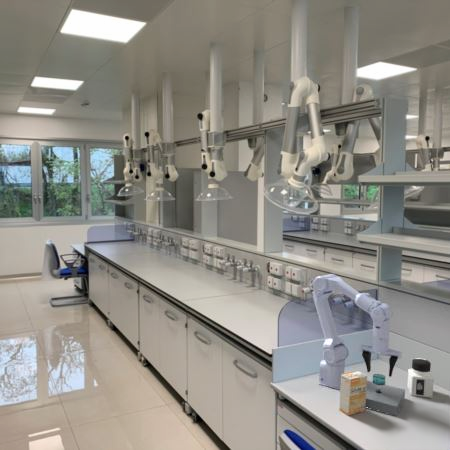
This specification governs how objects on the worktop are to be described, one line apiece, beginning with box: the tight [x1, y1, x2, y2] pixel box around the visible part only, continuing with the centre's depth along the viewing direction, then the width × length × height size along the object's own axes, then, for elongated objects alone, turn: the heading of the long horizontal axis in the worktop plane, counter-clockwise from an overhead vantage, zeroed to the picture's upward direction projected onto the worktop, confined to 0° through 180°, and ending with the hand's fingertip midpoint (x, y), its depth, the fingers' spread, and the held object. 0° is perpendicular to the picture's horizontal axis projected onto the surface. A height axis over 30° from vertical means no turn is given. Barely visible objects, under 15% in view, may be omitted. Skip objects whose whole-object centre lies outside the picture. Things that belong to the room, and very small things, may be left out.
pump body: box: [365, 380, 406, 417], centre depth 164 cm, size 16×16×4 cm
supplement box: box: [339, 370, 368, 416], centre depth 155 cm, size 8×5×13 cm, turn 118°
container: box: [406, 357, 435, 399], centre depth 171 cm, size 8×8×13 cm
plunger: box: [372, 373, 387, 394], centre depth 163 cm, size 4×4×6 cm
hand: (379, 373), depth 163 cm, fingers open, 7 cm apart
